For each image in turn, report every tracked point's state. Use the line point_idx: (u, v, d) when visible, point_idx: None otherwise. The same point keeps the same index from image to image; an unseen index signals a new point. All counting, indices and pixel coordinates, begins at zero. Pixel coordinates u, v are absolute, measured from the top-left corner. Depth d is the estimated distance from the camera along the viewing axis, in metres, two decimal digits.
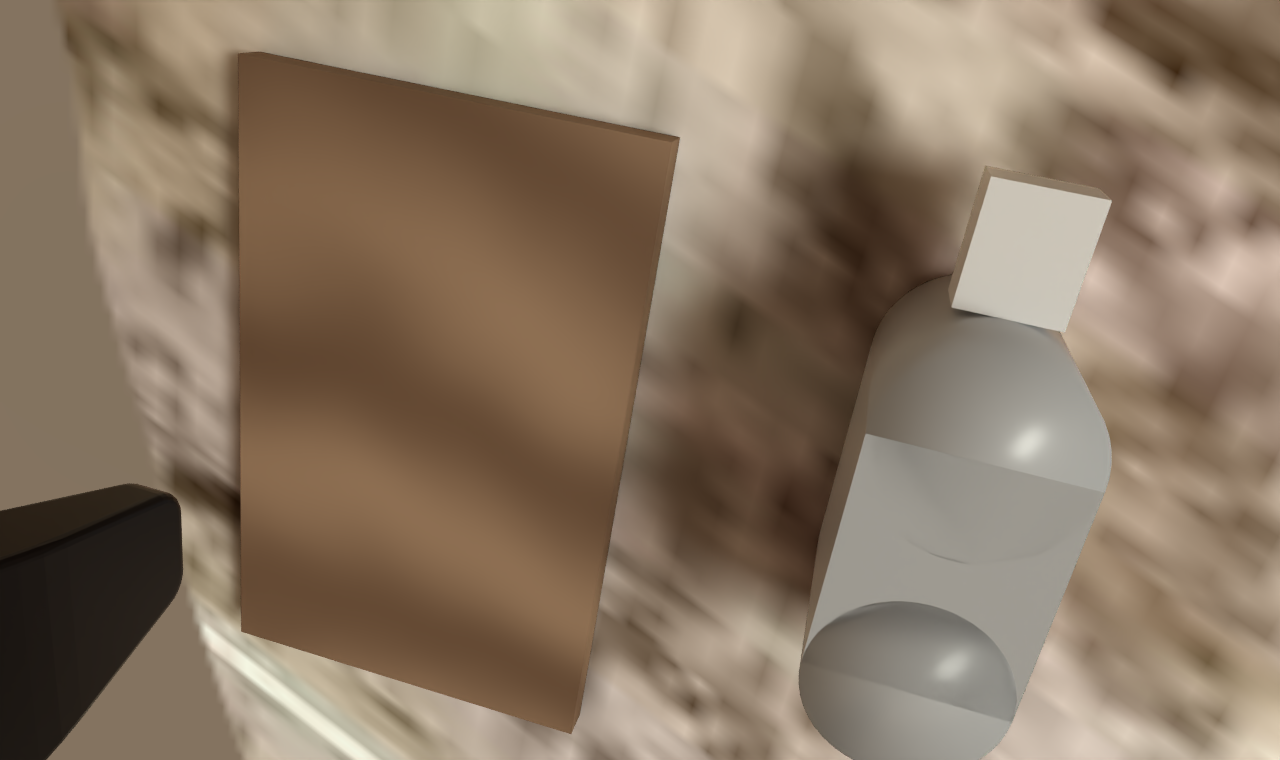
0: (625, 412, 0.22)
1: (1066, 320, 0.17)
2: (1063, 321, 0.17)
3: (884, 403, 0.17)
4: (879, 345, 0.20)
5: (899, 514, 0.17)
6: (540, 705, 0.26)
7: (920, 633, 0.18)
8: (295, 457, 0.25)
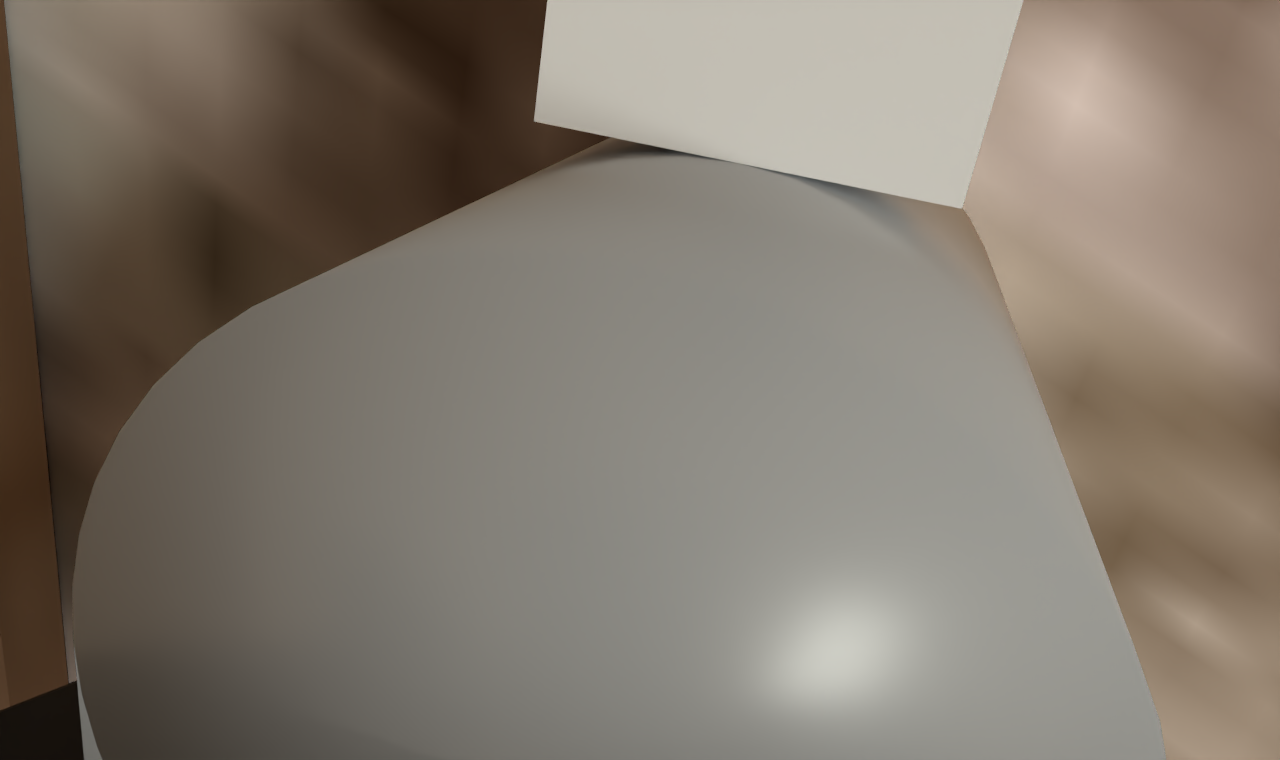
0: None
1: (967, 158, 0.04)
2: (955, 162, 0.04)
3: (98, 517, 0.04)
4: None
5: None
6: None
7: None
8: None
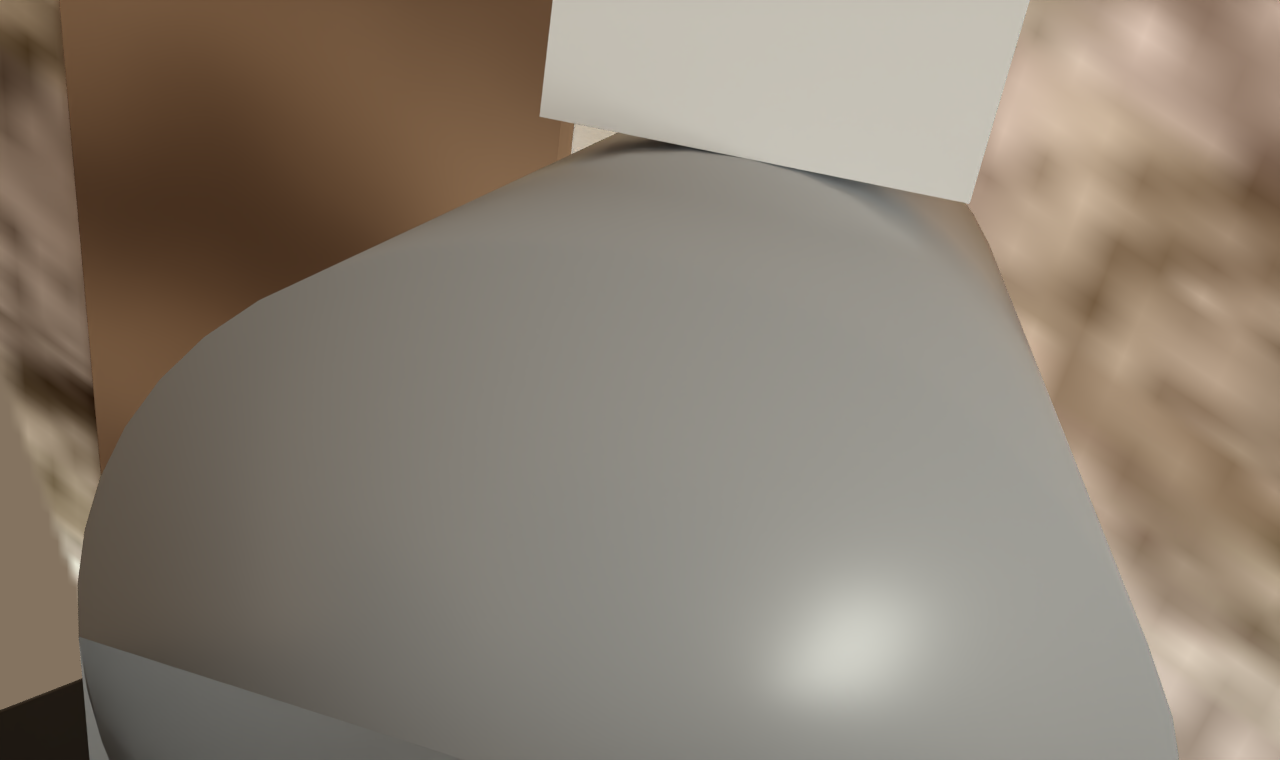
0: None
1: (975, 152, 0.04)
2: (963, 156, 0.04)
3: (105, 509, 0.04)
4: None
5: None
6: None
7: None
8: (153, 334, 0.20)
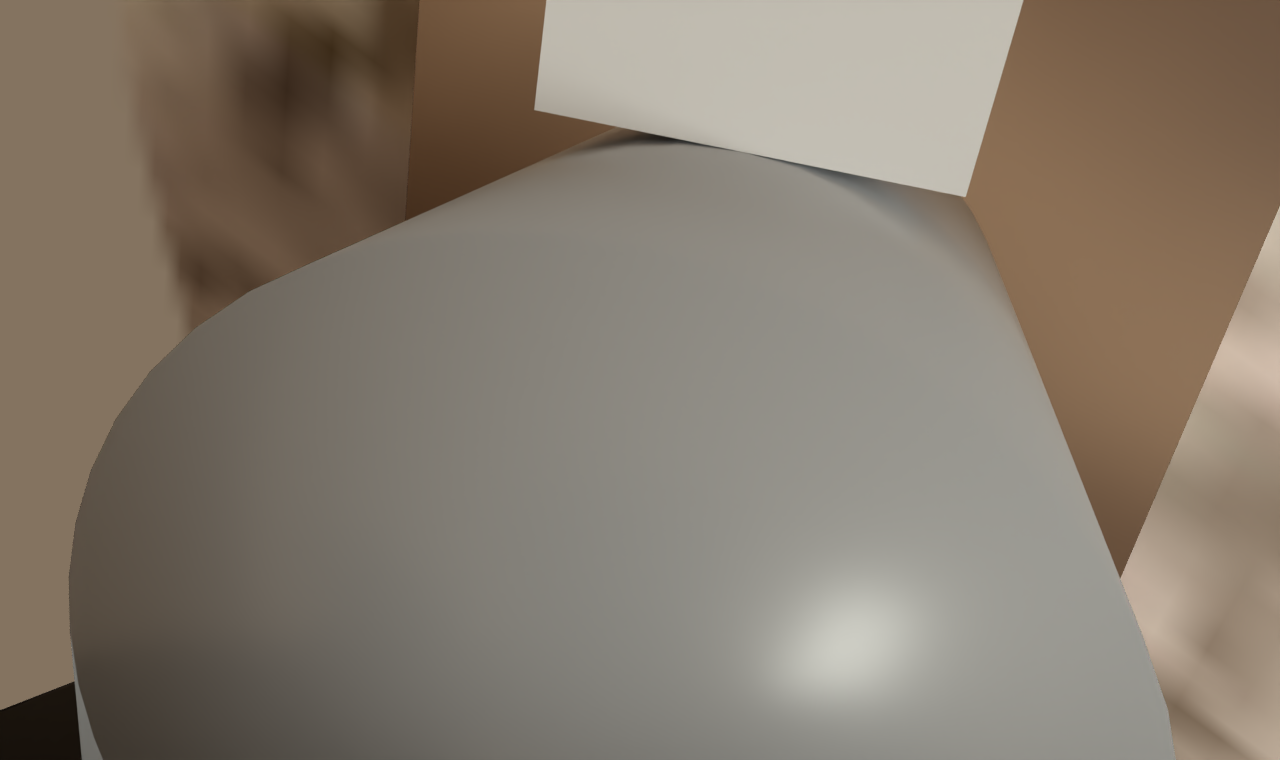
0: (1201, 384, 0.11)
1: (971, 145, 0.04)
2: (959, 149, 0.04)
3: (94, 504, 0.04)
4: None
5: None
6: None
7: None
8: None
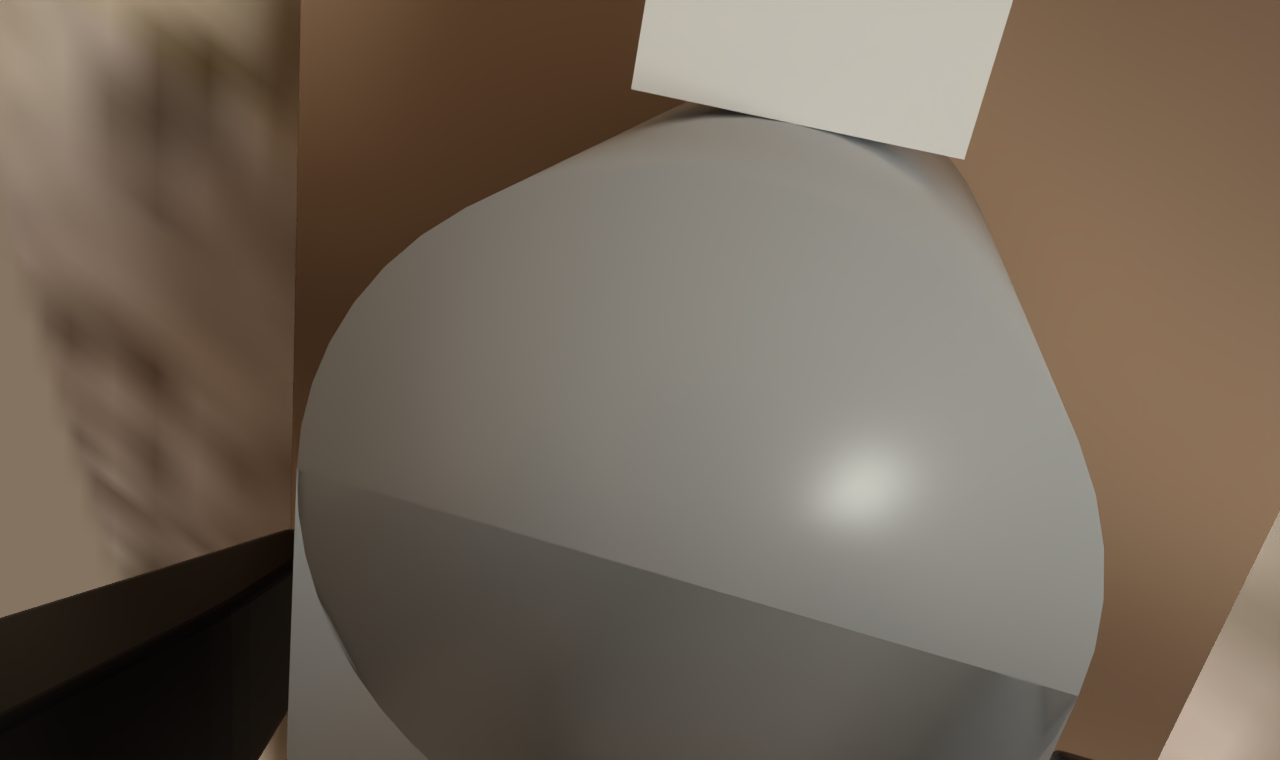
0: None
1: (969, 121, 0.06)
2: (959, 124, 0.06)
3: (330, 369, 0.05)
4: None
5: (440, 719, 0.05)
6: None
7: None
8: None
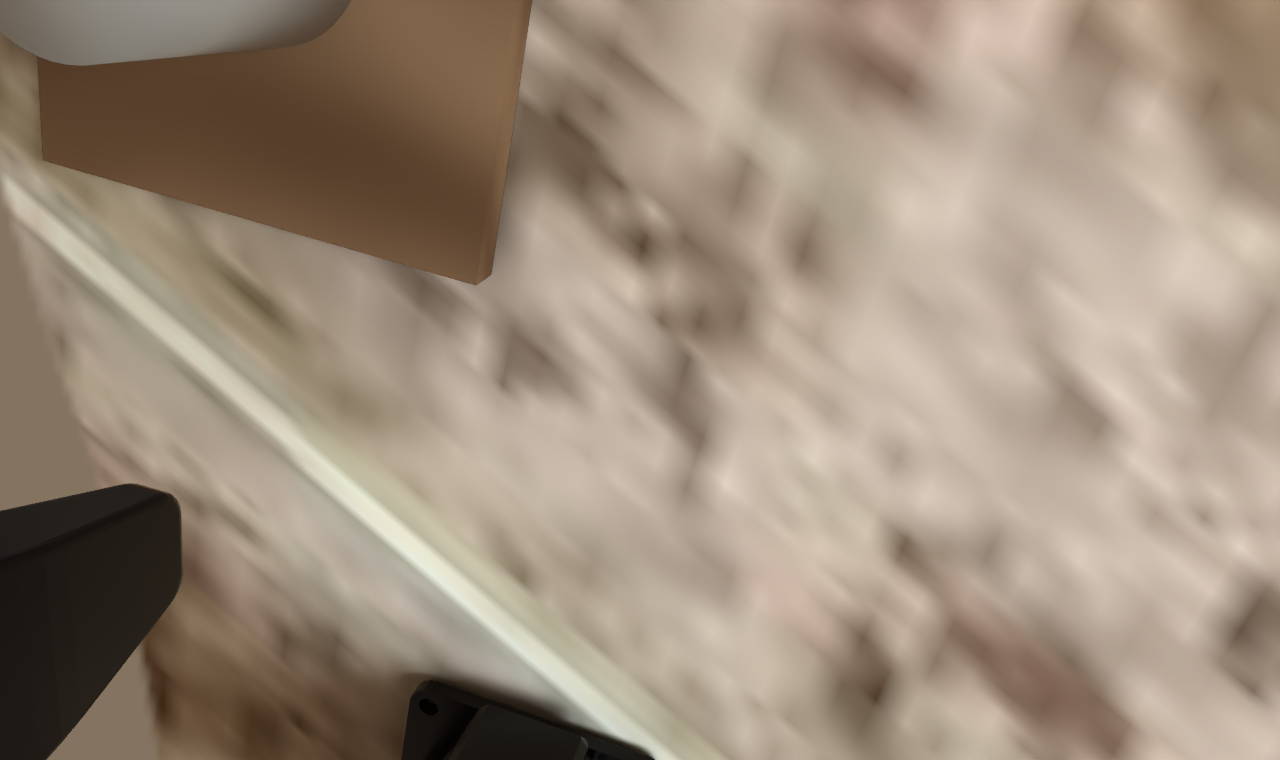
0: None
1: None
2: None
3: None
4: None
5: None
6: (435, 242, 0.19)
7: None
8: None
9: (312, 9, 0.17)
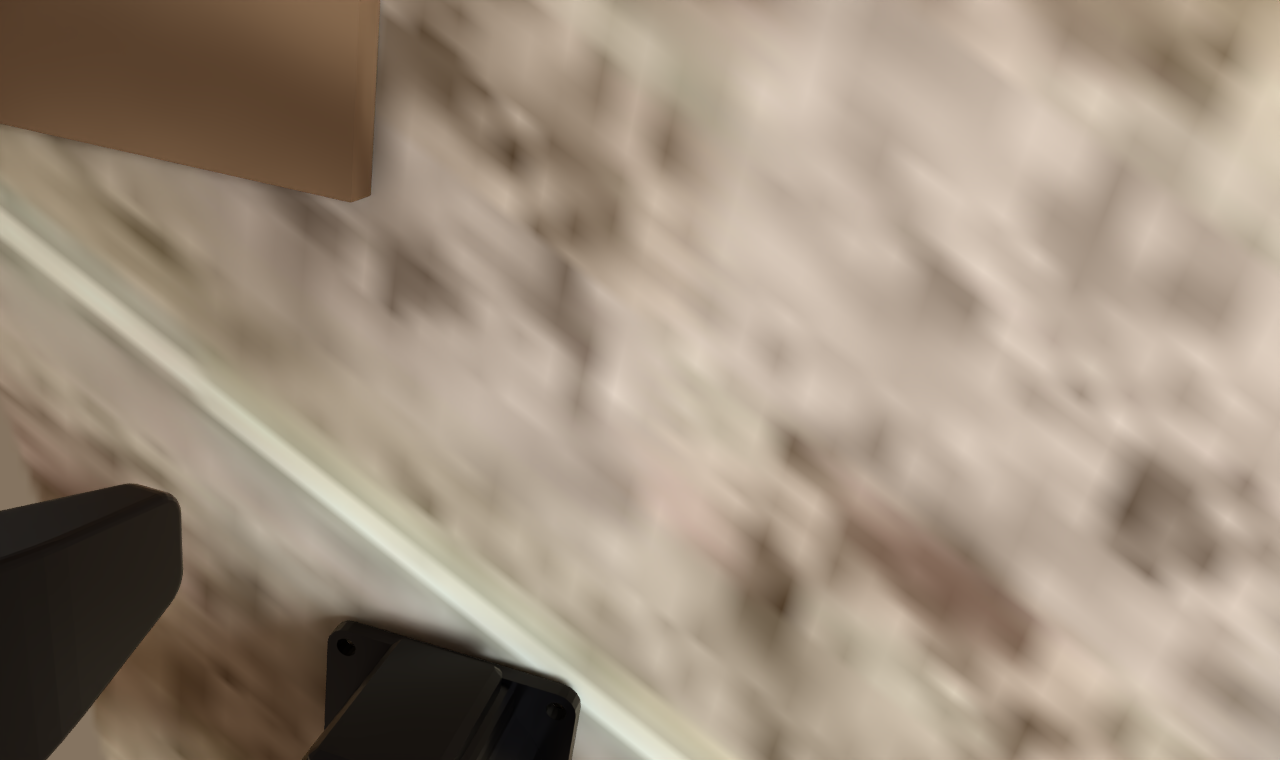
0: None
1: None
2: None
3: None
4: None
5: None
6: (308, 160, 0.19)
7: None
8: None
9: None
